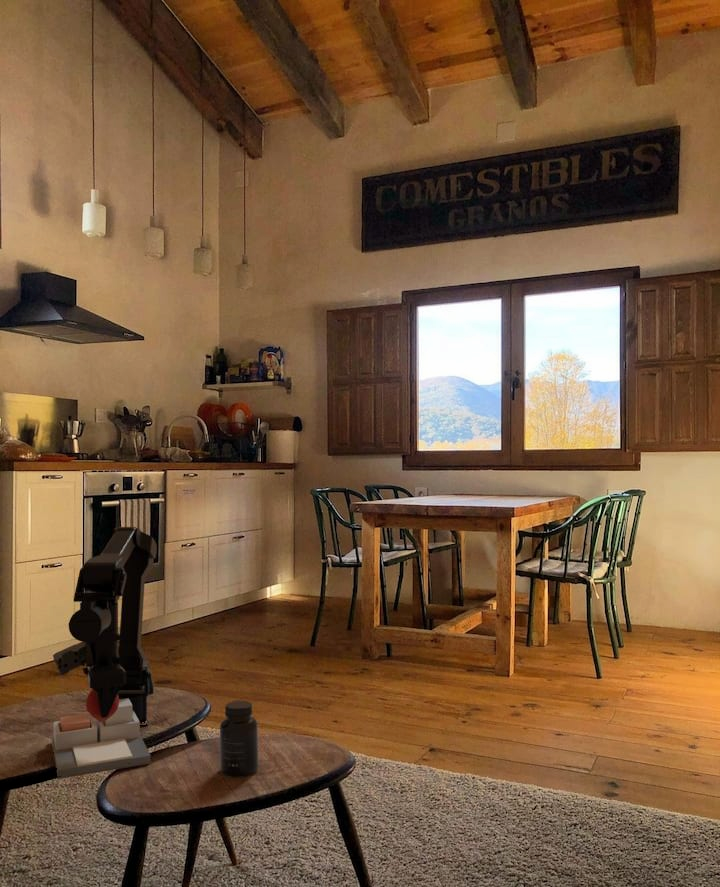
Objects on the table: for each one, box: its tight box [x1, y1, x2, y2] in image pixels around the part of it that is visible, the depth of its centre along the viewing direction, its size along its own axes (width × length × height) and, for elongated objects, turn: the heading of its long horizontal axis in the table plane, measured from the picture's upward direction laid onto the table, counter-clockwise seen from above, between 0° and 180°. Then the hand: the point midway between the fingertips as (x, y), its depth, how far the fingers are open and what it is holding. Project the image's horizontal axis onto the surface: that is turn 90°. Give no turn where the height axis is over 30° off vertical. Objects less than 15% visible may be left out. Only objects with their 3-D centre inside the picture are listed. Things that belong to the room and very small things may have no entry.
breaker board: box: [50, 711, 152, 780], centre depth 150 cm, size 16×19×4 cm
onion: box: [85, 689, 119, 722], centre depth 147 cm, size 6×6×8 cm
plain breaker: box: [103, 698, 132, 726], centre depth 156 cm, size 5×5×4 cm
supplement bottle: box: [219, 699, 259, 778], centre depth 142 cm, size 7×7×12 cm
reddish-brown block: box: [59, 713, 90, 732], centre depth 153 cm, size 5×5×4 cm
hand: (102, 712), depth 146 cm, fingers closed on onion, 6 cm apart
